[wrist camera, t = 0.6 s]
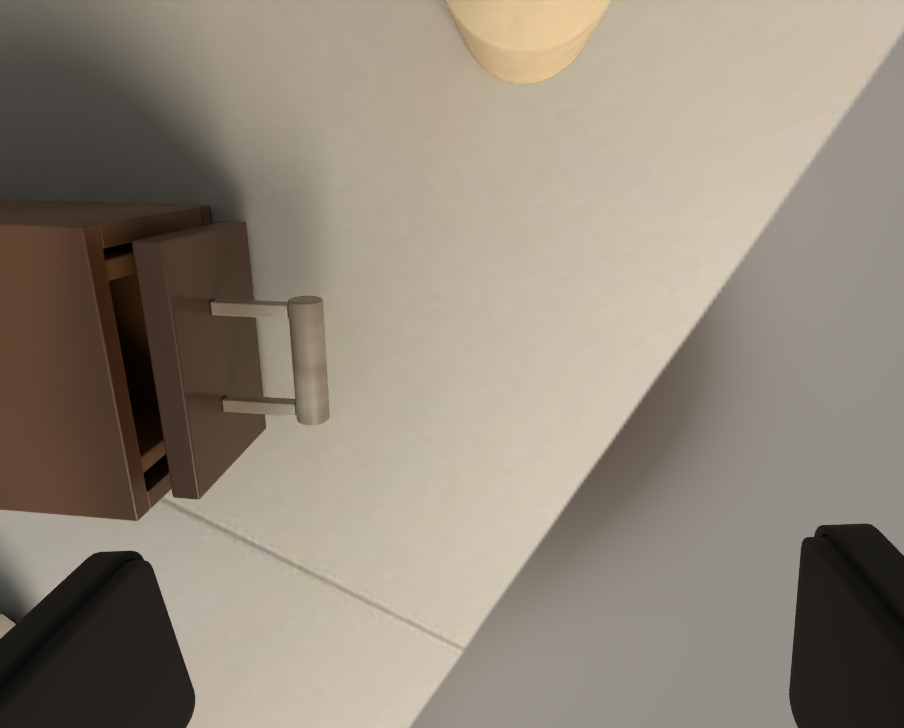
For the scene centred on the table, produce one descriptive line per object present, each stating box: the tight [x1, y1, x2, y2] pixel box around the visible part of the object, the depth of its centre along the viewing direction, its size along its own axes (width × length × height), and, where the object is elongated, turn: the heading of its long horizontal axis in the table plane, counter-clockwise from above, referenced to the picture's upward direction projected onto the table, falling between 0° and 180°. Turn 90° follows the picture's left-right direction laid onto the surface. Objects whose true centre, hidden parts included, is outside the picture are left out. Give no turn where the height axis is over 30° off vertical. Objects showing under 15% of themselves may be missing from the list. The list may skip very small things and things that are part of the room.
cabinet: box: [0, 200, 211, 521], centre depth 27 cm, size 15×12×9 cm
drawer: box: [103, 221, 329, 499], centre depth 26 cm, size 18×11×7 cm, turn 89°
